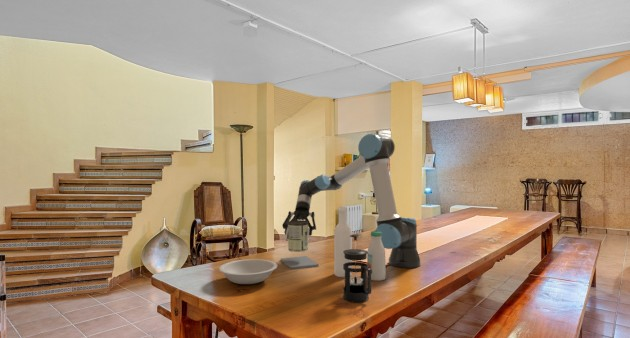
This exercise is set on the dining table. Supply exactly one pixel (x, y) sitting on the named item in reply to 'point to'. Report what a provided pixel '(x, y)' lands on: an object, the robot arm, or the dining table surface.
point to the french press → (352, 284)
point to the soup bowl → (248, 270)
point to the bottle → (341, 243)
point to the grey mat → (299, 262)
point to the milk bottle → (376, 257)
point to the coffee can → (297, 236)
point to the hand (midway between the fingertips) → (296, 240)
